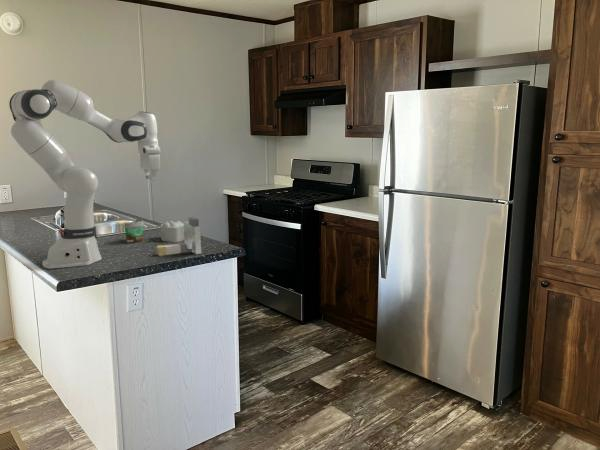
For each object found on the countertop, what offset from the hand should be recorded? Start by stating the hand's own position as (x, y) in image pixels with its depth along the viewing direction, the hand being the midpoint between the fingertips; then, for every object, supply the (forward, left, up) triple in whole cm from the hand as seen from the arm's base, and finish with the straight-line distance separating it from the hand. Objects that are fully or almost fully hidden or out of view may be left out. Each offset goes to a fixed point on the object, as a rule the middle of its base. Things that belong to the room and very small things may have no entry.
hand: (150, 179), depth 229 cm
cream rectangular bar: (+3, -16, -31) cm, 35 cm away
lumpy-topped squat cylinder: (+12, +12, -31) cm, 36 cm away
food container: (-4, +16, -31) cm, 35 cm away
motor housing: (+13, -16, -31) cm, 37 cm away
